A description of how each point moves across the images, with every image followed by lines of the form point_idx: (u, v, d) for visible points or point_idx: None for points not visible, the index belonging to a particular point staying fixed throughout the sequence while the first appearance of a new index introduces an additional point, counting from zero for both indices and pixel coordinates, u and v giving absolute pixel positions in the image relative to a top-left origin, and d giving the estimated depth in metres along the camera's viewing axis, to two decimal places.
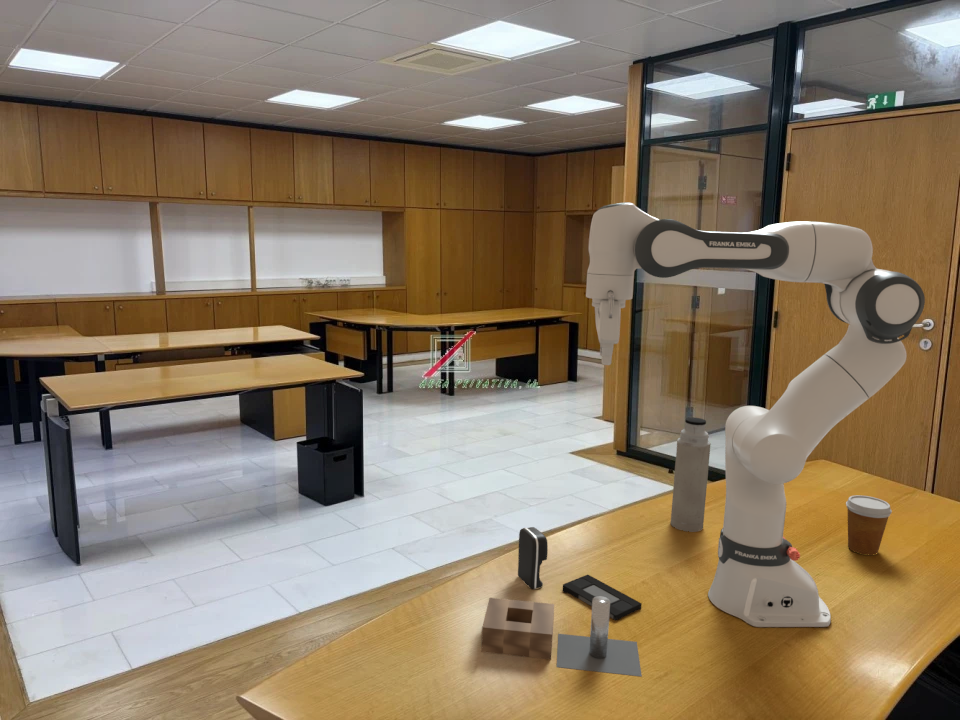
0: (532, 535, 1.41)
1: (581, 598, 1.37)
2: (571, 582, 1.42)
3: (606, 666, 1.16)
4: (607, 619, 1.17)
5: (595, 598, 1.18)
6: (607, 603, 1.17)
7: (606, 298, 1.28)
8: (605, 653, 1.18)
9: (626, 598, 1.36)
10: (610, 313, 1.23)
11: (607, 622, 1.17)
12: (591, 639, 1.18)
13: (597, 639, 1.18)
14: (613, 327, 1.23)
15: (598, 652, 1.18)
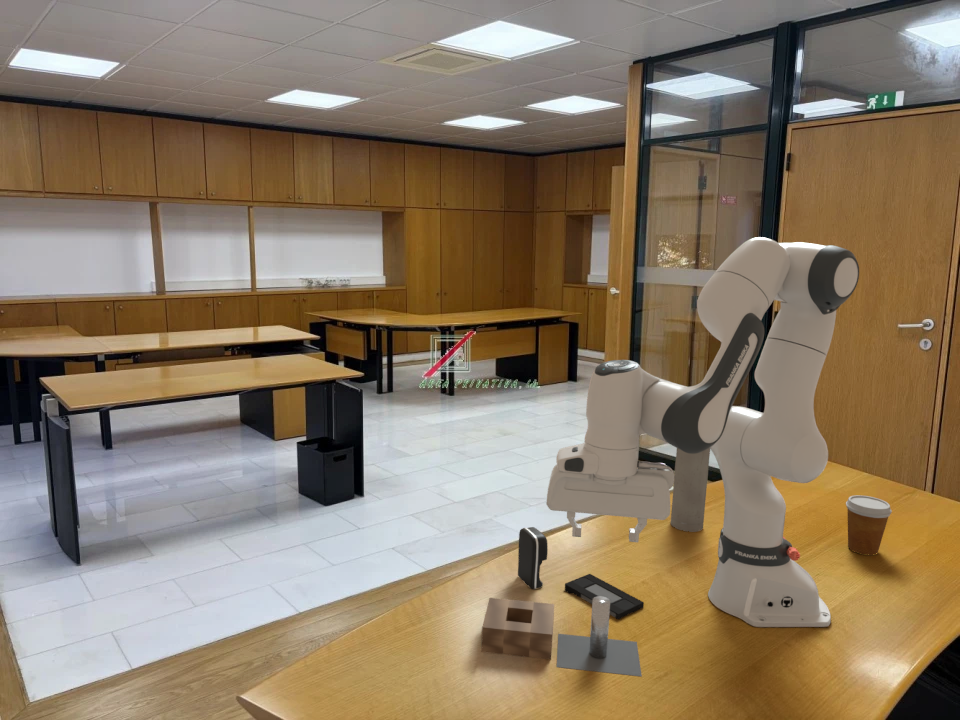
0: (532, 535, 1.41)
1: (583, 597, 1.38)
2: (573, 581, 1.42)
3: (606, 666, 1.16)
4: (607, 619, 1.17)
5: (595, 598, 1.18)
6: (607, 603, 1.17)
7: (636, 470, 1.12)
8: (605, 653, 1.18)
9: (628, 597, 1.37)
10: (672, 485, 1.13)
11: (607, 622, 1.17)
12: (591, 639, 1.18)
13: (597, 639, 1.18)
14: None
15: (598, 652, 1.18)
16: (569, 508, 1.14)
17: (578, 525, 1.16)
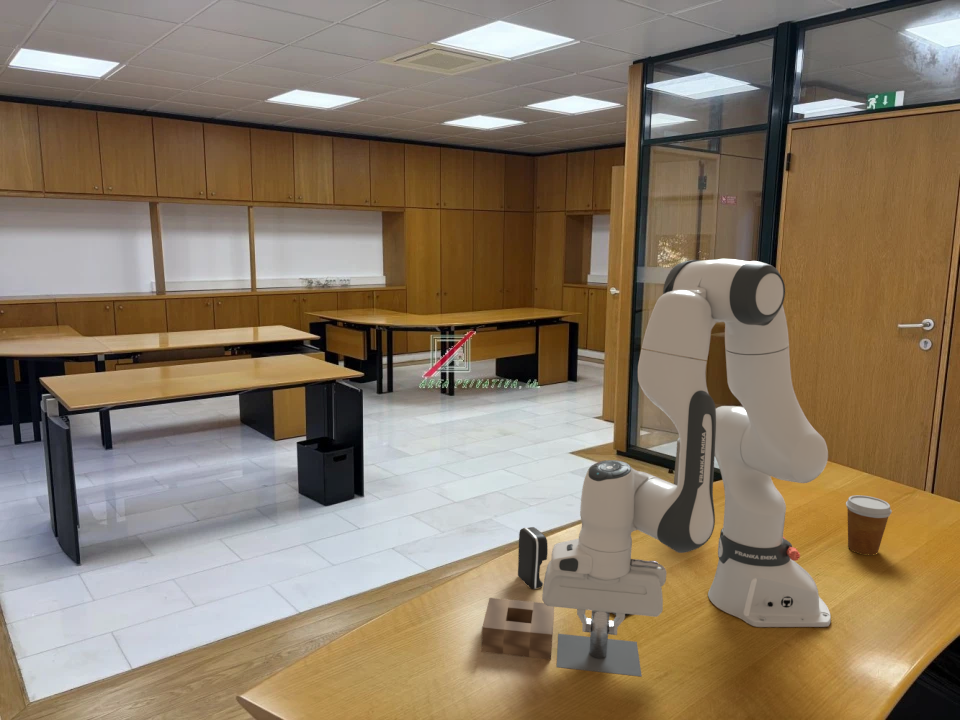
0: (532, 535, 1.41)
1: None
2: None
3: (606, 666, 1.16)
4: (607, 619, 1.17)
5: None
6: None
7: (629, 568, 1.15)
8: (605, 653, 1.18)
9: None
10: (664, 582, 1.16)
11: (607, 622, 1.17)
12: (591, 639, 1.18)
13: (597, 639, 1.18)
14: None
15: (598, 652, 1.18)
16: (564, 604, 1.17)
17: (588, 620, 1.19)
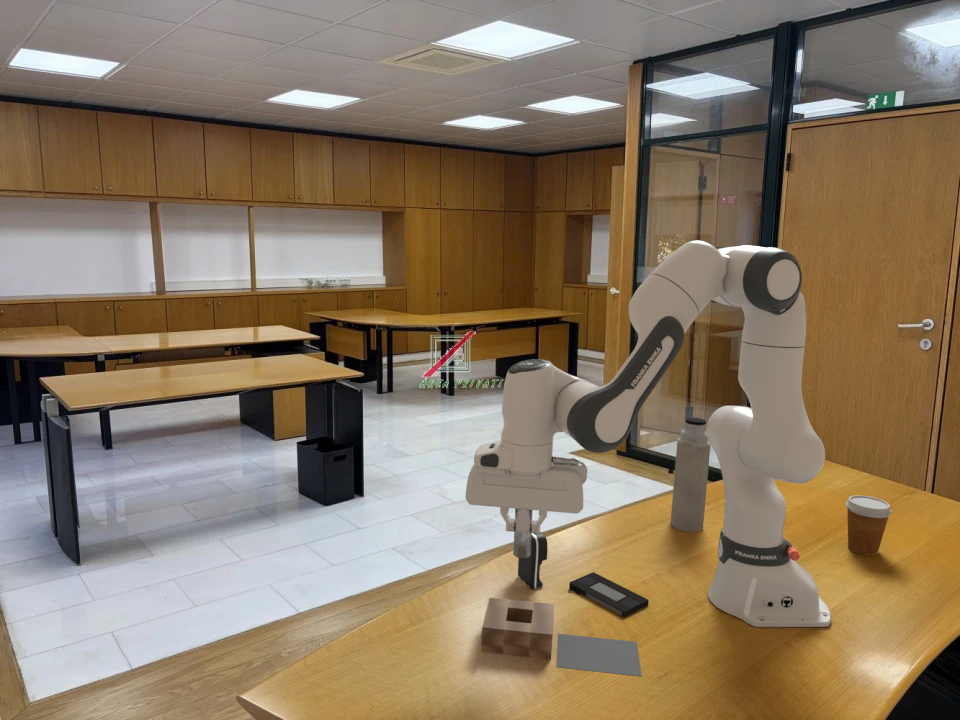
0: (532, 535, 1.41)
1: (588, 595, 1.38)
2: (577, 580, 1.43)
3: (606, 666, 1.16)
4: (529, 518, 1.18)
5: None
6: None
7: (551, 466, 1.16)
8: (528, 552, 1.19)
9: (633, 595, 1.38)
10: (585, 479, 1.16)
11: (530, 521, 1.18)
12: (514, 538, 1.19)
13: (519, 538, 1.18)
14: None
15: (521, 551, 1.19)
16: (487, 502, 1.18)
17: (512, 520, 1.20)
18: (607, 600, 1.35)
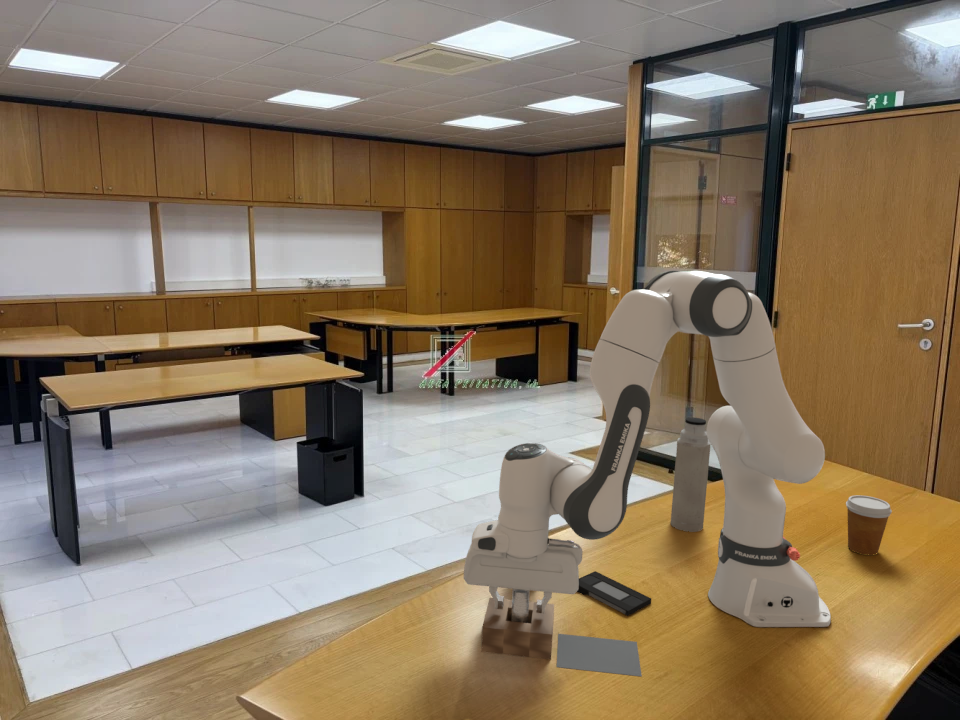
0: None
1: (591, 595, 1.39)
2: (580, 579, 1.43)
3: (606, 666, 1.16)
4: (526, 607, 1.21)
5: None
6: (526, 592, 1.21)
7: (547, 548, 1.19)
8: None
9: (636, 594, 1.38)
10: None
11: (526, 610, 1.21)
12: None
13: None
14: (578, 572, 1.20)
15: None
16: (484, 583, 1.20)
17: (500, 598, 1.23)
18: (610, 599, 1.36)
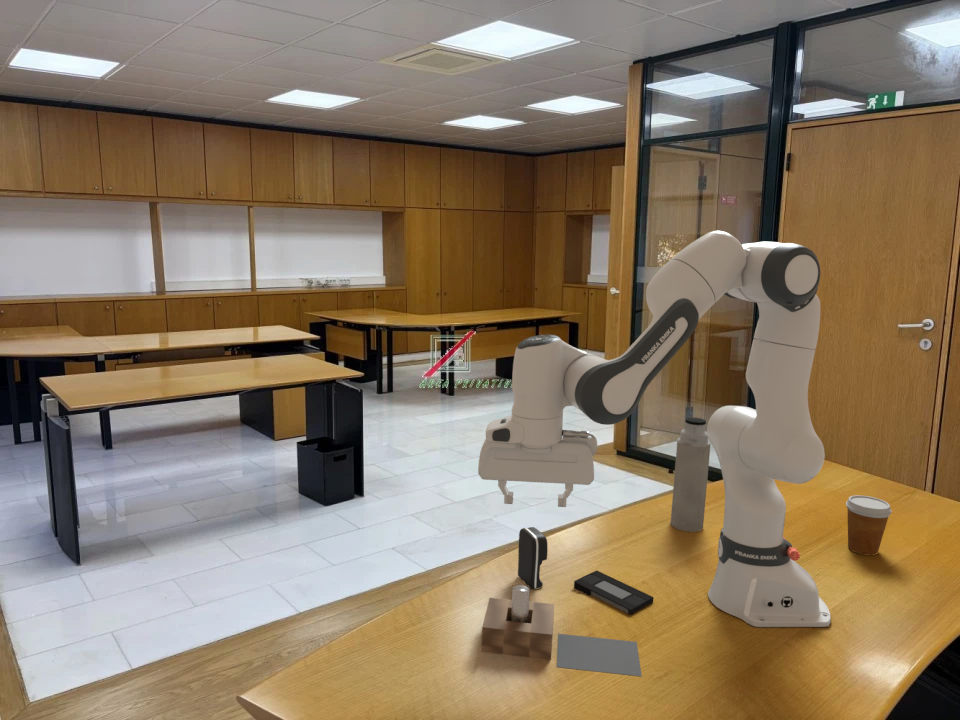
0: (532, 535, 1.41)
1: (594, 594, 1.39)
2: (582, 578, 1.44)
3: (606, 666, 1.16)
4: (526, 607, 1.21)
5: (515, 587, 1.22)
6: (526, 592, 1.21)
7: (561, 439, 1.18)
8: None
9: (638, 592, 1.39)
10: None
11: (526, 610, 1.21)
12: None
13: None
14: None
15: None
16: (499, 477, 1.20)
17: (510, 493, 1.22)
18: (613, 598, 1.36)
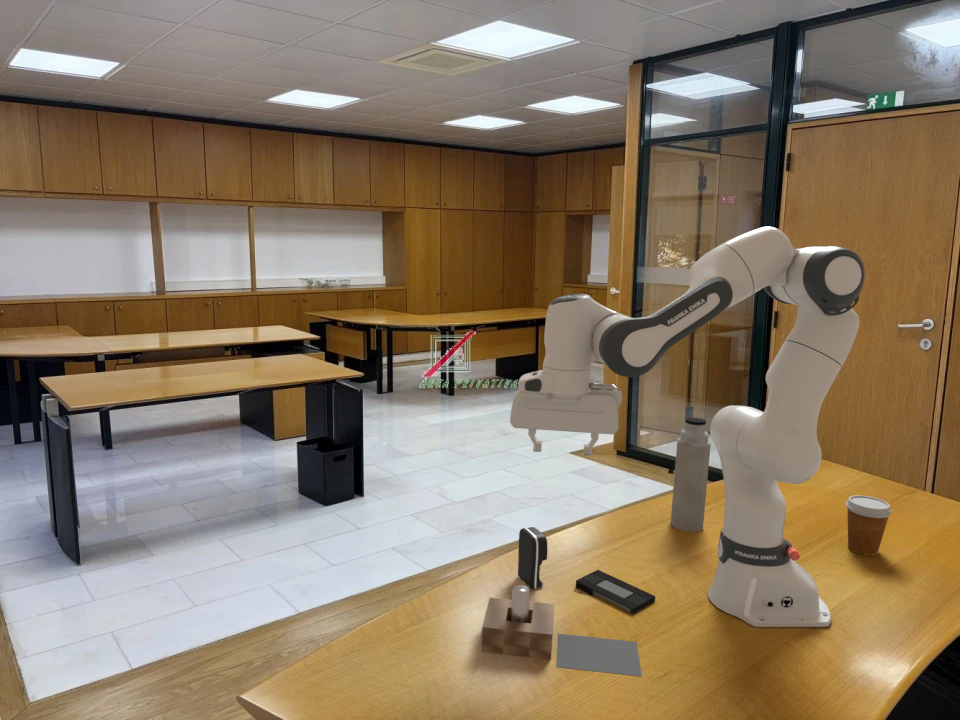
0: (532, 535, 1.41)
1: (596, 593, 1.39)
2: (583, 578, 1.44)
3: (606, 666, 1.16)
4: (526, 607, 1.21)
5: (515, 587, 1.22)
6: (526, 592, 1.21)
7: (589, 391, 1.27)
8: None
9: (639, 591, 1.39)
10: (620, 403, 1.28)
11: (526, 610, 1.21)
12: None
13: None
14: None
15: None
16: (530, 425, 1.29)
17: (539, 442, 1.31)
18: (615, 598, 1.36)
